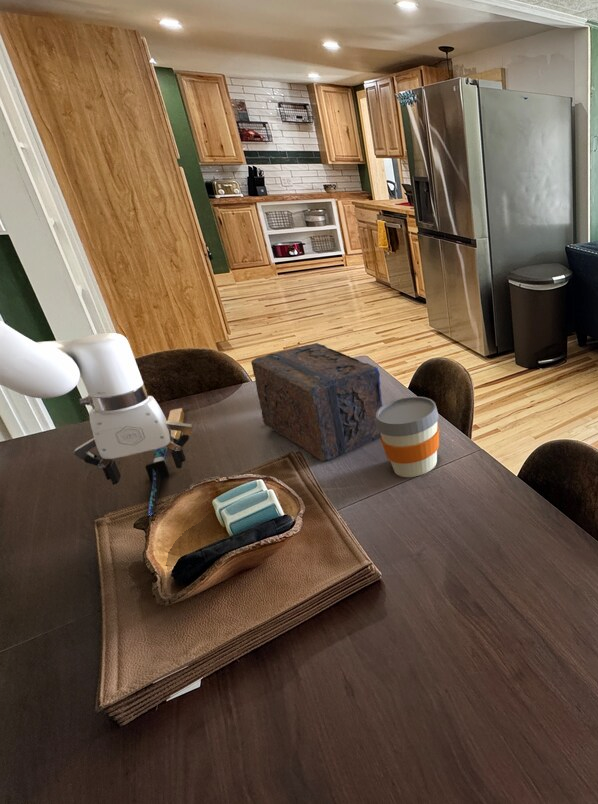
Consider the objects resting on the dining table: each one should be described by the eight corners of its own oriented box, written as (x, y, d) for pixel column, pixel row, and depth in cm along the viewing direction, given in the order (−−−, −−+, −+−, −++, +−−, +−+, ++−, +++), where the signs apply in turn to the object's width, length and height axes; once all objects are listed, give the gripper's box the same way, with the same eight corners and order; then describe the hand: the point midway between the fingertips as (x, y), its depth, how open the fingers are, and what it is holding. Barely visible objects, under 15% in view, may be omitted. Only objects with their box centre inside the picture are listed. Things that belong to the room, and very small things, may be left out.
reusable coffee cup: (396, 493, 98) (384, 431, 93) (378, 465, 107) (366, 407, 102) (454, 470, 106) (446, 411, 100) (432, 445, 115) (424, 390, 109)
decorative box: (328, 405, 135) (250, 430, 118) (321, 337, 129) (238, 354, 112) (400, 436, 121) (323, 470, 104) (396, 362, 115) (314, 385, 98)
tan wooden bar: (164, 449, 112) (161, 441, 111) (173, 417, 126) (170, 410, 125) (177, 445, 114) (174, 438, 113) (184, 414, 127) (182, 407, 126)
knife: (161, 450, 109) (153, 435, 107) (178, 446, 111) (170, 431, 109) (136, 546, 87) (126, 529, 85) (157, 539, 88) (148, 522, 86)
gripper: (48, 417, 83) (85, 497, 89) (177, 394, 92) (202, 468, 98) (61, 401, 88) (94, 477, 95) (181, 380, 98) (204, 451, 104)
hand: (149, 472), depth 96 cm, fingers open, 9 cm apart
